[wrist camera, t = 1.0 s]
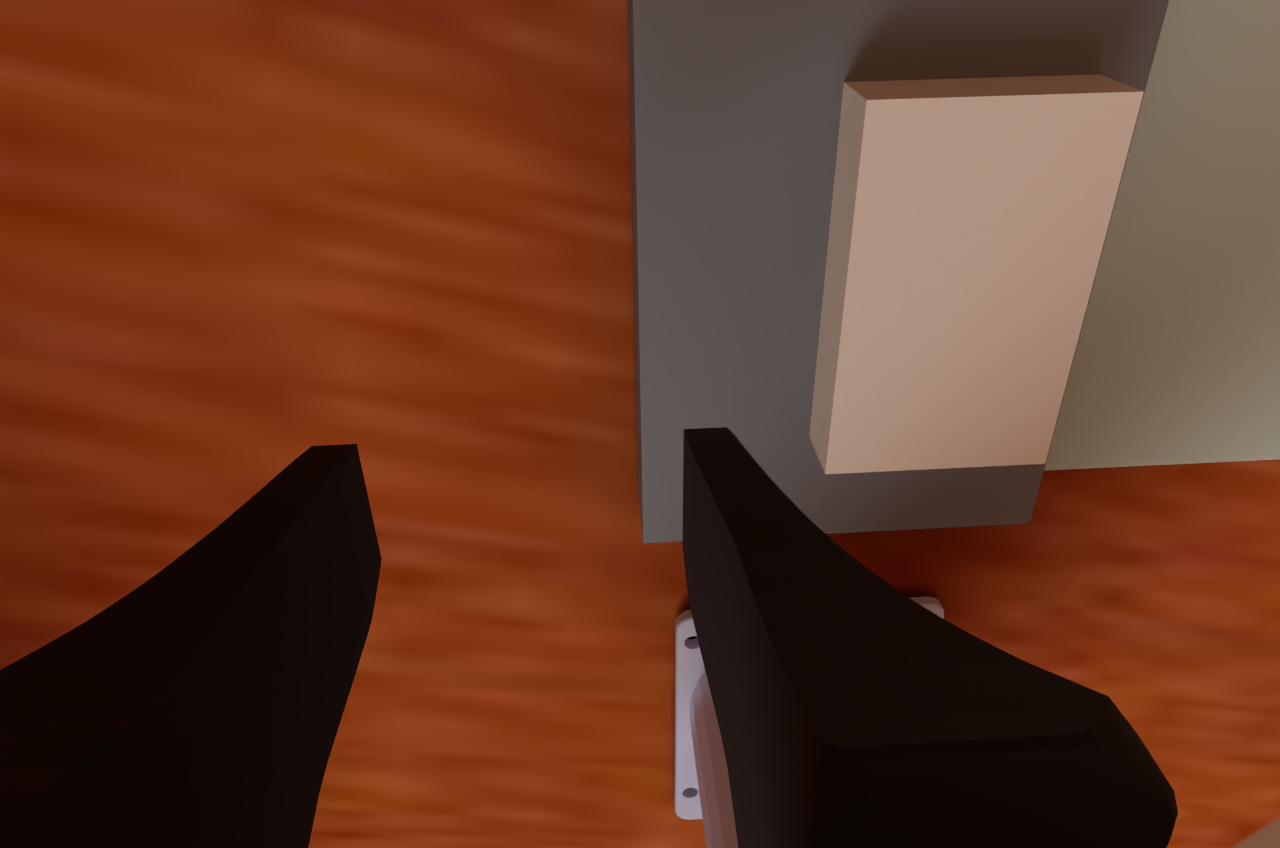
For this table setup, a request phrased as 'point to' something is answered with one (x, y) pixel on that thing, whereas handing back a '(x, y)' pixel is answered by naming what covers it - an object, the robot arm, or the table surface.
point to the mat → (1189, 260)
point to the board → (801, 222)
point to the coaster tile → (961, 265)
